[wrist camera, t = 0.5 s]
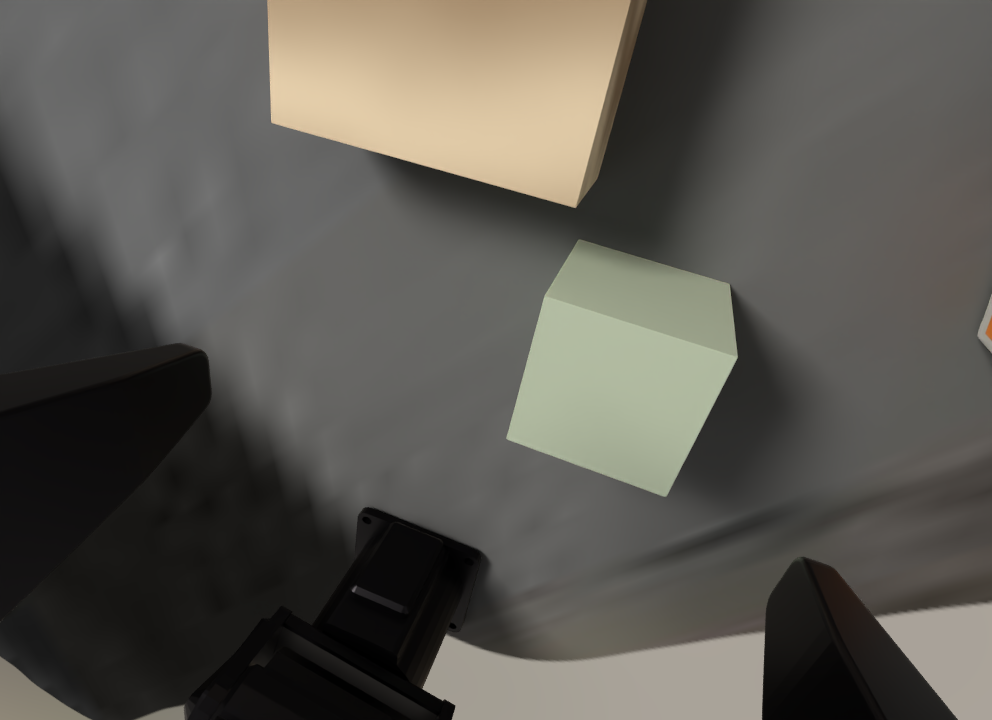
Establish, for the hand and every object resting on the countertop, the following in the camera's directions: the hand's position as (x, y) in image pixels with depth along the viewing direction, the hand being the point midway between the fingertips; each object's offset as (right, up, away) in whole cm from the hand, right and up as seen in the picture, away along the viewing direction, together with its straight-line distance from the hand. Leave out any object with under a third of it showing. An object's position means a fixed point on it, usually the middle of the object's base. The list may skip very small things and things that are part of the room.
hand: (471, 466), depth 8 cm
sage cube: (+5, +3, +12) cm, 13 cm away
